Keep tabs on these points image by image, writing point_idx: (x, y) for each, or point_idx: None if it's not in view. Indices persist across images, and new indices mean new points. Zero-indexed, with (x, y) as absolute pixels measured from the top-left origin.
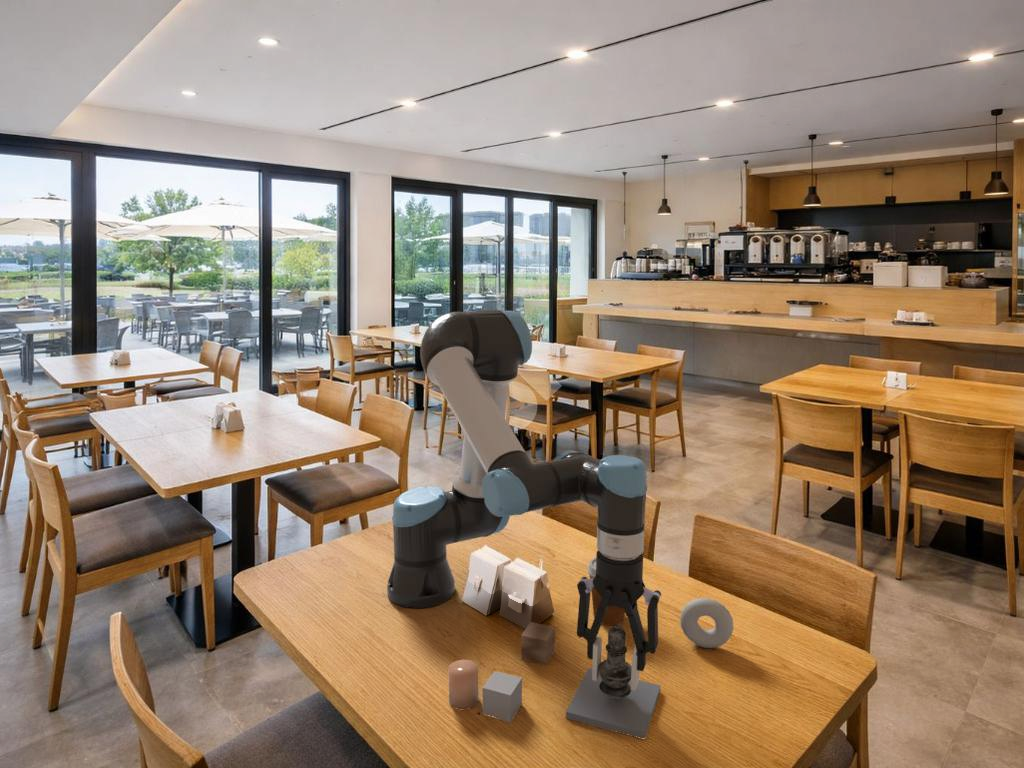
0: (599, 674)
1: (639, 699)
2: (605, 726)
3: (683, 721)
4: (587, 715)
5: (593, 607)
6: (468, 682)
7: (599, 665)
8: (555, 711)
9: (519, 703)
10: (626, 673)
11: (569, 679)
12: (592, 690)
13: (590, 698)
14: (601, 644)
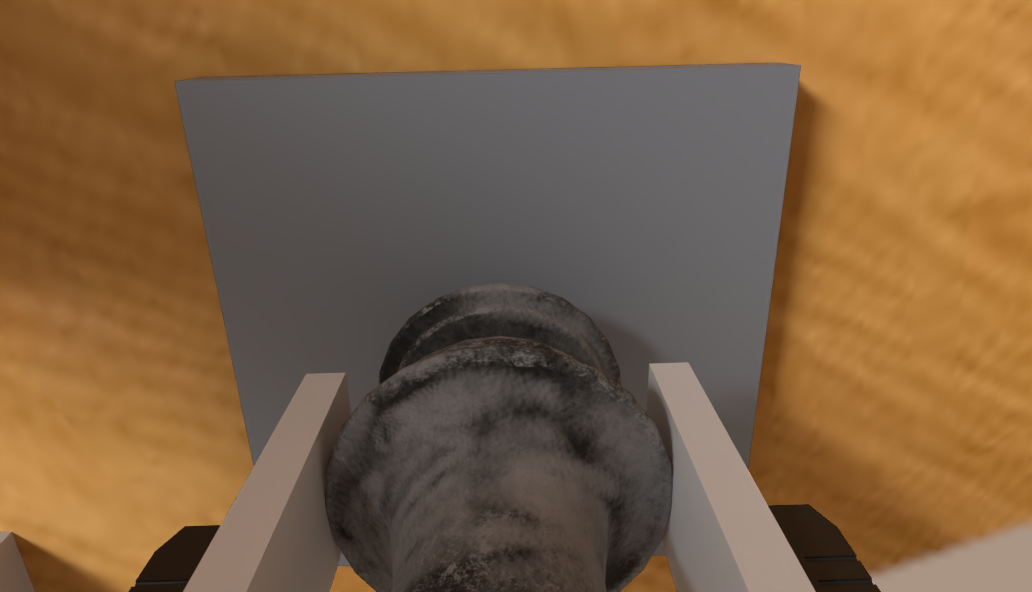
0: (349, 412)
1: (663, 300)
2: None
3: (935, 307)
4: None
5: None
6: None
7: (337, 525)
8: (209, 513)
9: (3, 582)
10: (621, 558)
11: (113, 207)
12: (331, 341)
13: None
14: (248, 589)
